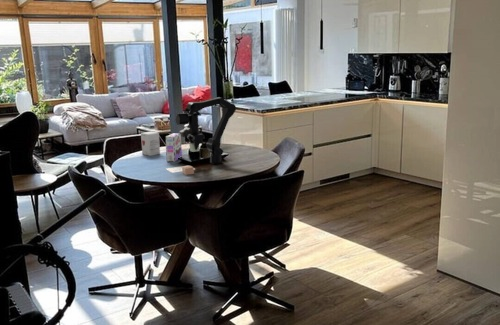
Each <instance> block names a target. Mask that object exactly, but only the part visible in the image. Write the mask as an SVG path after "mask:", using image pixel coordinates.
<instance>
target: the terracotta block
mask: <svg viewBox="0 0 500 325" xmlns="http://www.w3.org/2000/svg"><path fill="white" fill-rule="evenodd" d="M184 166H185V167H182V166H181V167H182V171H181V172H182V174H184V175H185V176H187V175H194V173H195V167H193V166H192V165H184Z"/></svg>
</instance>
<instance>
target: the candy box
mask: <svg viewBox="0 0 500 325" xmlns="http://www.w3.org/2000/svg"><path fill="white" fill-rule="evenodd" d="M164 139H165V153H166V154H165V155H166V156H165V157H166V162H173V163H174V162H177V161H178V157H180V156H182V157H183V153H182V151H183V150H182V149H183V148H182V136H181V134H180V132H178V133H177V132H176V133H175V132H174V133H171V134H169V135H166V136H165V138H164Z"/></svg>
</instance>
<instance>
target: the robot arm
mask: <svg viewBox="0 0 500 325" xmlns="http://www.w3.org/2000/svg"><path fill="white" fill-rule="evenodd" d="M217 105H219V106H220V108H222V110H221V118H220V120H219V122H218V125H217V126H216V129H215V132H214V134H213V136H212V137H209V138H208V140H207V142H206V149H207V151H208V152H209V153H210V156H209V163H210V164H212V165H220V164H224V162H223V156H222V155H223V154H224V150H223V149H222V148H221V143H222V142H221V140H222V137H223V134H224V132H225V130H226V127H227V125H228V123H229V120H230V119H231V118H232V117H233V116H234V114H235V112H236V111H237V107H236V104H234V103H232V102H229V101H227V100H226V99H225V98H223V97H220V96H218V97H214V98H211V99H207V100H203V101H189V102H188V103H187V104H186V108H185V109H184V111H183V112H180V113H178V112H177V113H176V117H175V123H176V125H177V126H182V125H186V128H183V129H181V130H179V133H180V134H181V138H182V137H183V138H185V137H186V138H187V139H188V141H189V143H194V146H195V150H197V149H198V146H199V147H200V144H201V141H202V140H205V135H204V134H203V133H201V132H200V131H199V128H200V124H199V116H202V113H200V112H201V111H202V110H204V109H206V108H209V107H214V106H217Z"/></svg>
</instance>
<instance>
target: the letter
mask: <svg viewBox="0 0 500 325" xmlns="http://www.w3.org/2000/svg"><path fill="white" fill-rule="evenodd" d="M185 166H186V165H184V166H175V167H169V168H167V167H166V168H165V169H166V170H167V171H168V172H170V173H171V174H172V173H173V174H174V173H179V172H182V167H185Z"/></svg>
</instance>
